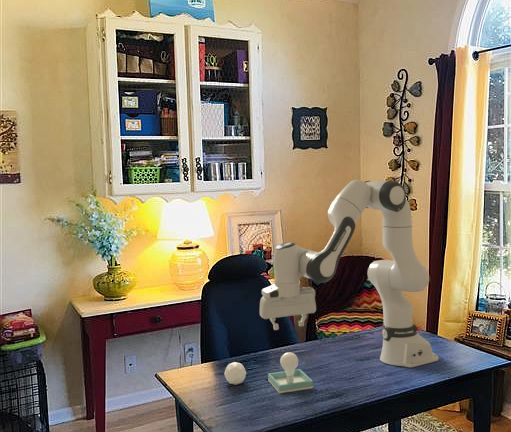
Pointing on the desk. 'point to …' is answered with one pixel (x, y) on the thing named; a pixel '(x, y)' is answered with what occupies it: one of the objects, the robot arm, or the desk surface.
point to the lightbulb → (289, 365)
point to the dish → (282, 386)
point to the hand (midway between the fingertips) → (288, 327)
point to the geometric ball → (235, 373)
